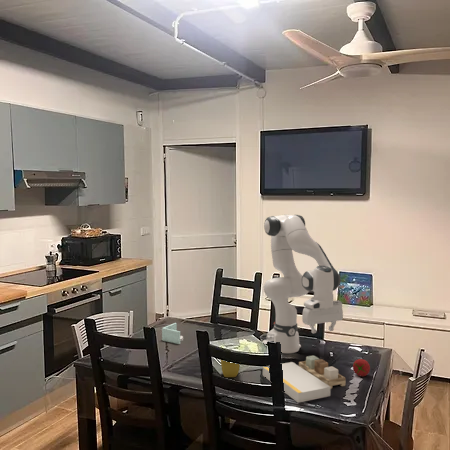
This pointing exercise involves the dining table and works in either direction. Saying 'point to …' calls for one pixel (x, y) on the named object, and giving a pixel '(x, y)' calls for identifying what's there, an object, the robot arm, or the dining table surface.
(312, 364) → the block
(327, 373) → the block
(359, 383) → the dining table surface
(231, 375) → the flower pot
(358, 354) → the dining table surface
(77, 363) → the dining table surface
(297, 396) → the dock
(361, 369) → the tomato
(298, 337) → the robot arm
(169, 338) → the l-shaped corner panel
